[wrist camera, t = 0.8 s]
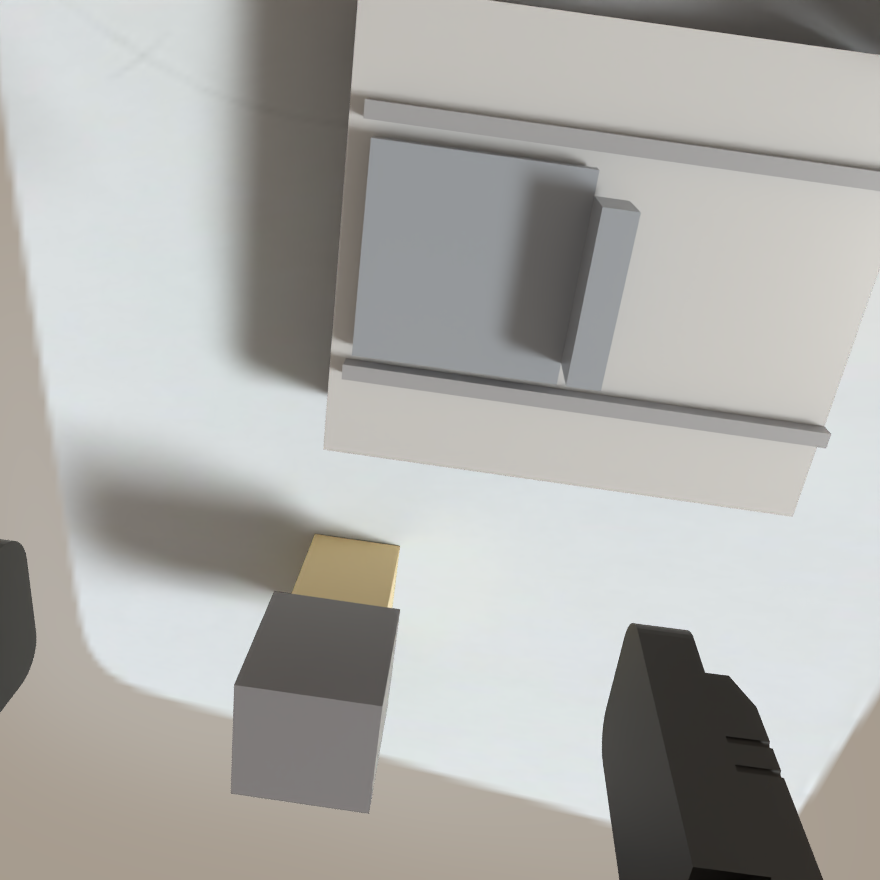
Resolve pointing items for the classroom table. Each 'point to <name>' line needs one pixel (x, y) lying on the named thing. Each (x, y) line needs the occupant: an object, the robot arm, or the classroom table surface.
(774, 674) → the classroom table surface
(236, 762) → the plug
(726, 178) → the socket
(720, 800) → the robot arm
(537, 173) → the shutter
